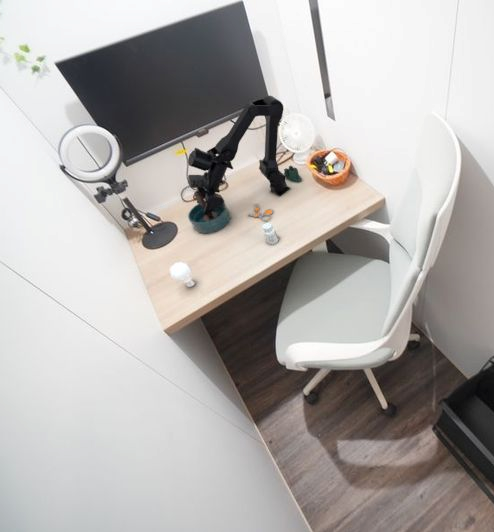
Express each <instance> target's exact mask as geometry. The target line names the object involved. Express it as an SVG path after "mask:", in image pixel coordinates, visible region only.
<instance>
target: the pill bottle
mask: <svg viewBox="0 0 494 532" xmlns="http://www.w3.org/2000/svg"><path fill="white" fill-rule="evenodd" d="M262 230H263V236H264V237H265V240H266V242H267V244H269V245H274V244H275V245H276V243H278V241H279V237H278V234H277V232H276V231H277V230H276V229H275V227H274V226H273V225H272V223H270V222H266V223H264V224H263V225H262Z"/></svg>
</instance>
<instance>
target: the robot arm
mask: <svg viewBox="0 0 494 532" xmlns="http://www.w3.org/2000/svg"><path fill="white" fill-rule="evenodd" d="M283 113H284V104H283V103H282V101H280V100H279V99H277V98H276V97H275V96H273V95H267V96H265V97H264V98H259V99H256V100H253V101H248V102H246V103H245V104H244V107H243V109H242V111H241V112H240V114H239V115H238V117H237V119H236V120H235V122H234V124H232V127H231V128H230V130H229V132H228V133H227V134H226V135H225V136H223V137H222V138H220V139H219V141H218V142H217V143H216V144H215V146H213V147H211V148H210V149H208V150H207V151H204V150H201V149H200V148H197V147H194V149H193V150H192V151H191V152H190V153H189V154H188V158H187V163H188V166H189V167H191V168H194V169H198V170H201V171H203V172H204V173H203V174H188V175H187V180H188V185H189V186H190V188H192V189H197V191H199V192H200V193H201V195H202V196H203V198H204V200H205V201H206V205H205V209H204V214H205V215H207V214H208V213H209V212H211V211H212V210H213V209H215V208H216V207H218V206H222V205H223V204H224V203H225V199H224V197H223V196H222V195H221V194H219V193H220V192H221V190H220V186H221V184H222V185H223V184H224V182H225V181H224V180H223V179H224V176H225V174H226V172H227V170H228V169H230V170H234V167H233V165H232V161H234V159H235V158H236V155H237V153H238V150H239V144H240V142H241V140H242V139H243V137H244V136H245V134H246V133H247V131H248V129H249V128H250V126H251V125H252V123H253V121H254V120H255V119H256V118H257V117H264V119H265V135H264V137H265V138H264V139H265V140H264V157H263V158H262V159H259V167H258V170H260V171H259V172H260V174H262V175H263V177H264V178H265V179H267V180H268V182H269V188H270V192H271V193H272V194H275V195H277V196H278V197H281V196H282V195H283V194H285V193H287V192H288V191H289V190H290V189H291V188H290V186H288V184H287V181H286V177H285V175H284V173H283V172H282V171H280V170H279V165H278V162H277V151H278V150H277V149H278V135H279V134H278V133H279V124H280V122H281V120H282V118H283V115H284V114H283ZM196 203H197V204H199V202H198V200H197V199H196Z"/></svg>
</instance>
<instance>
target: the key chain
mask: <svg viewBox="0 0 494 532" xmlns="http://www.w3.org/2000/svg"><path fill="white" fill-rule="evenodd" d="M254 207H255V208H254V211H255V213H248V216H250V217H254V218H260V219H261V220H263V221H264V222H268V221H269V220H270V219H271V218H272V216H271V215H272V214H273V210H272V209H267V210H265V211H264V213H262V212H259V213H257V212H258V211H259V210H260V207H259V205H258V204H257V203H255V204H254ZM264 216H268V218H267V219H265V218H263V217H264Z"/></svg>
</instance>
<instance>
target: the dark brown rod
mask: <svg viewBox="0 0 494 532" xmlns="http://www.w3.org/2000/svg"><path fill="white" fill-rule="evenodd" d="M193 194H194V197H195V199H196V201H197V200H198V202H199V204H200V206H201V207H202V209H203V211H204V209H205V205H206V202H205V199H204V198H203V196H202V195H201V193H200V192H199V191H198V190H196V191H194V193H193ZM217 216H218V214H217V213H216V212H209V213H208V214H207V215H205V216H204V217H203V220H204V221H205V222H207V221H210V220H212V219H215V218H216V217H217Z"/></svg>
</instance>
